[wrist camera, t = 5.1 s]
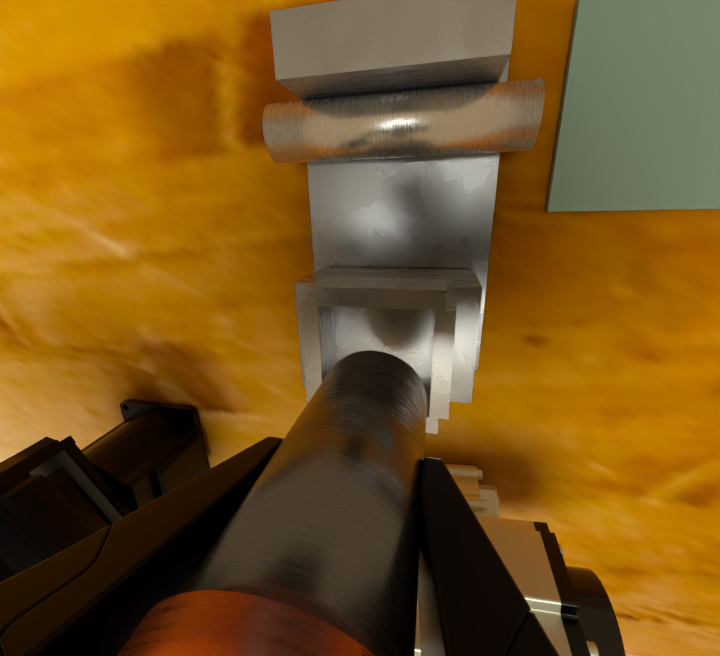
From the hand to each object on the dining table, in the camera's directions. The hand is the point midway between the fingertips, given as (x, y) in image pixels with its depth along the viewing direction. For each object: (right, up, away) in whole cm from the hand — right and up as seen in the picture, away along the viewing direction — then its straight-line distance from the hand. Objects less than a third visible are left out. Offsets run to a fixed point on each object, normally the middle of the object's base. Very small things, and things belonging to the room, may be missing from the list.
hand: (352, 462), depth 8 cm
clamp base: (+2, +9, +10) cm, 14 cm away
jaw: (+2, +4, +10) cm, 11 cm away
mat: (+13, +12, +6) cm, 19 cm away
